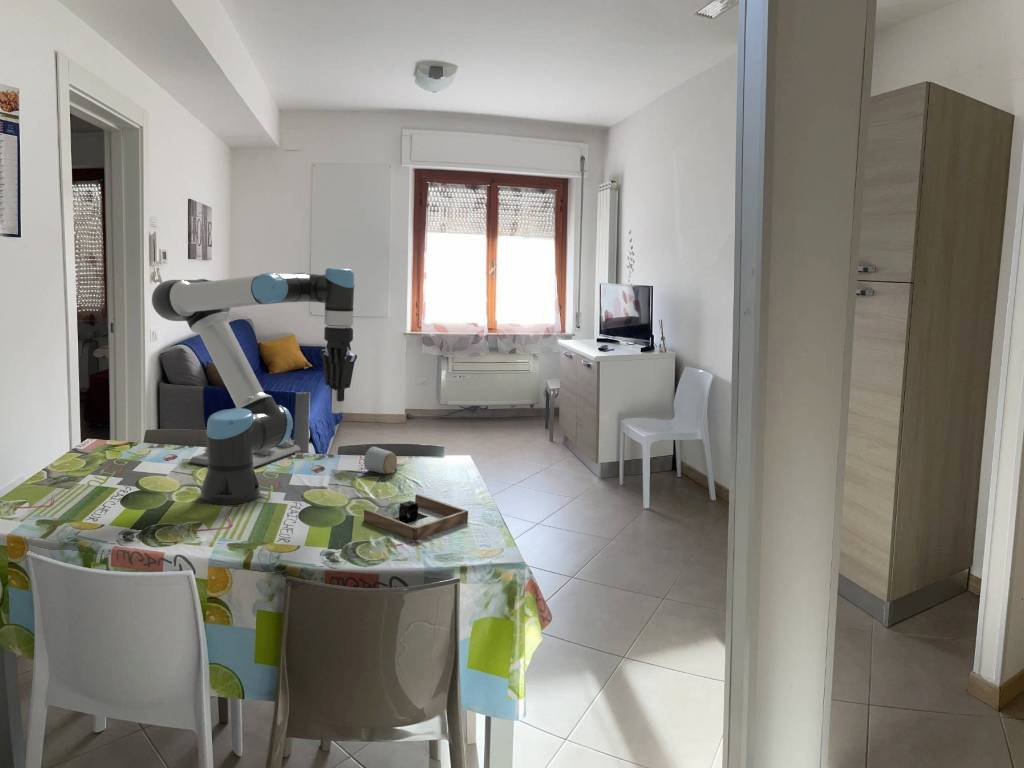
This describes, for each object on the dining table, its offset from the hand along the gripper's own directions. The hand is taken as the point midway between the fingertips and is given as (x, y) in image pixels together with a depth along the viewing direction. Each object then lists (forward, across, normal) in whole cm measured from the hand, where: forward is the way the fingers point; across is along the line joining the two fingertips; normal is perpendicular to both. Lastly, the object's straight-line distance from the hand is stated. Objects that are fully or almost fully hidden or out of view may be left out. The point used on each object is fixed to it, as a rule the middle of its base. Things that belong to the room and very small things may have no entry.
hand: (337, 412), depth 203 cm
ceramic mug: (+25, +12, -27) cm, 39 cm away
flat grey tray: (+25, +52, -5) cm, 58 cm away
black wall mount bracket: (+25, -25, -4) cm, 36 cm away
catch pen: (+24, -28, -4) cm, 37 cm away
